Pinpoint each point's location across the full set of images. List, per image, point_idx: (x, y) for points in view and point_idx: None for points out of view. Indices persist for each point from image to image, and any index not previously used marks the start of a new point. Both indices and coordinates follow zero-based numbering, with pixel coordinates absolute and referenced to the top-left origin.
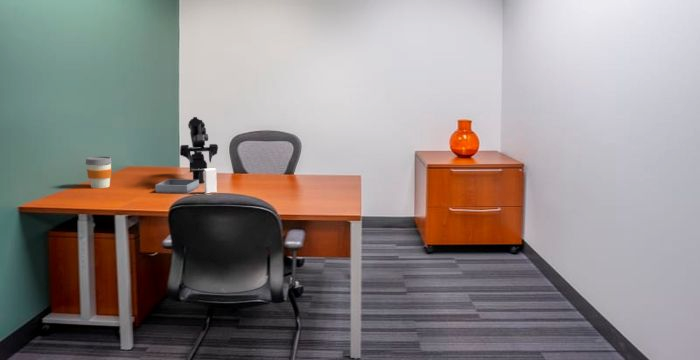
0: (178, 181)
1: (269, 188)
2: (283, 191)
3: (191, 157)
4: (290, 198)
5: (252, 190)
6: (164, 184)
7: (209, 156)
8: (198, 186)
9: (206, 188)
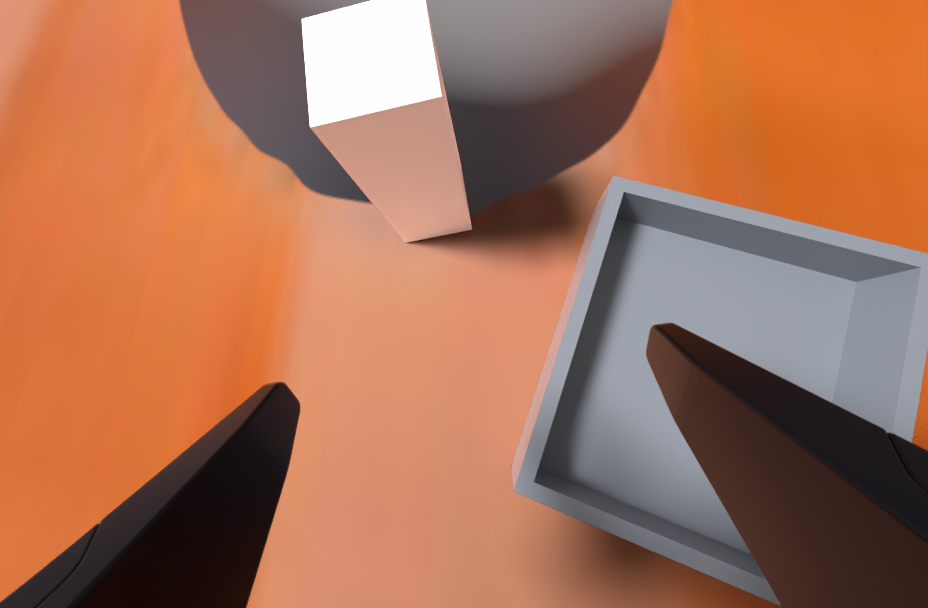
0: (728, 555)
1: (67, 301)
2: (34, 193)
3: (759, 405)
4: (74, 19)
5: (175, 253)
6: None
7: (187, 596)
8: (516, 455)
9: (456, 145)
